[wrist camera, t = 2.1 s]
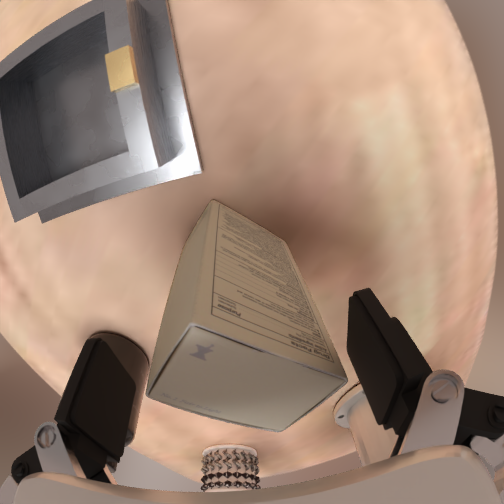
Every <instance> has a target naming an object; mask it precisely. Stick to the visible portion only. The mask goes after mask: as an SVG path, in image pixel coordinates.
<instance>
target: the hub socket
mask: <svg viewBox="0 0 504 504" xmlns="http://www.w3.org/2000/svg"><path fill="white" fill-rule="evenodd" d="M202 172H203V166H202V162H201V158H200V154H199V149H198V145H197V141H196V136H195V132H194V127H193V123H192V119H191V114H190V110H189V105H188V100H187V96H186V91H185V86H184V82H183V77H182V72H181V67H180V62H179V57H178V52H177V47H176V42H175V37H174V32H173V26H172V21H171V16H170V10H169V4H168V0H92V1H90V2H88V3H86V4H84V5H82V6H81V7H79V8H77V9H75V10H73V11H71V12H70V13H68V14H66V15H65V16H63V17H61V18H60V19H58V20H56V21H55V22H53V23H52V24H50V25H49V26H47V27H45V28H44V29H43V30H41V31H40V32H38V33H37V34H35V35H34V36H32V37H31V38H30V39H28V40H27V41H26V42H24V43H23V44H22V45H20V46H19V47H18V48H17V49H15V50H14V51H13V52H12V53H10V54H9V55H8V56H7V57H6V58H5V59H3V60H2V61H1V62H0V176H1V180H2V184H3V187H4V191H5V194H6V198H7V201H8V204H9V207H10V210H11V213H12V216H13V219H14V222H17V221H19V220H21V219H24V218H26V217H28V216H30V215H32V214H34V213H36V212H38V214H39V216H40V219H41V222H42V223H44V222H47V221H49V220H52V219H54V218H57V217H60V216H62V215H65V214H67V213H70V212H73V211H76V210H78V209H81V208H84V207H87V206H90V205H92V204H95V203H98V202H101V201H104V200H107V199H110V198H113V197H117V196H120V195H123V194H126V193H129V192H133V191H136V190H139V189H143V188H146V187H150V186H153V185H157V184H160V183H164V182H168V181H171V180H175V179H179V178H183V177H187V176H191V175H195V174H199V173H202Z"/></svg>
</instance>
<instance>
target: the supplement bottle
mask: <svg viewBox="0 0 504 504" xmlns="http://www.w3.org/2000/svg"><path fill="white" fill-rule="evenodd" d="M90 338H101V339H103V341H106V342H107V344H108V345H109V347H110V348H111V350H112V351H113V353H114V354H115V355H116V357H117V358H118V360H119V361H120V363H121V364H122V365H123V367H124V368H125V369H126V371H127V372H128V373H129V375H130V376H131V377H132V379H133V380H134V382H135V384H136V391H135V396H134V400H133V405H132V410H131V415H130V420H129V425H128V430H127V435H126V441H125V447H126V446H128V445H129V444H130V443H131V442H132V441H133V440H134V437H135V433H136V428H137V423H138V418H139V413H140V408H141V403H142V398H143V393H144V389H145V384H146V380H147V375H148V370H149V364H148V360H147V358H146V356H145V354H144V353H143V352H142V350H141V349H140V348H139V347H138V346H137V345H135V344H134V343H133V342H131V341H130V340H128V339H126V338H124V337H122V336H119V335H116V334H111V333H99V334H96V335H93V336H92V337H90ZM66 386H67V385H66ZM64 391H65V390H64ZM63 393H64V392H63ZM62 396H63V395H62ZM61 399H62V397H61ZM60 401H61V400H60ZM59 404H60V403H59ZM106 465H107V467H108V469H109V471H110V472H111V473H114V472H115V471H116V467H117V462H110V461H108V460H106Z"/></svg>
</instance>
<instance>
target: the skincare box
mask: <svg viewBox="0 0 504 504" xmlns="http://www.w3.org/2000/svg"><path fill="white" fill-rule="evenodd" d="M347 382H348V378H347V376H346V373H345V371H344V368H343V366H342V364H341V362H340V359H339V357H338V355H337V352H336V350H335V348H334V345H333V343H332V341H331V339H330V336H329V334H328V332H327V330H326V327H325V325H324V323H323V321H322V318H321V316H320V314H319V312H318V310H317V307H316V305H315V303H314V301H313V299H312V297H311V294H310V292H309V290H308V288H307V286H306V284H305V282H304V279H303V277H302V275H301V273H300V271H299V269H298V267H297V264H296V262H295V260H294V258H293V256H292V254H291V252H290V250H289V248H288V246H287V243H286V242H285V241H284V240H282V239H281V238H279V237H277V236H276V235H274V234H273V233H271V232H269V231H268V230H266V229H264V228H263V227H261V226H259V225H258V224H256V223H254V222H253V221H251V220H249V219H248V218H246V217H244V216H242V215H241V214H239V213H237V212H235V211H234V210H232V209H230V208H228V207H226V206H225V205H223V204H221V203H219V202H217V201H215V200H211V201H210V203H209V204H208V206H207V207H206V209H205V211H204V212H203V214H202V215H201V217H200V219H199V220H198V222H197V224H196V225H195V227H194V229H193V231H192V232H191V234H190V236H189V238H188V240H187V242H186V244H185V245H184V247H183V250H182V253H181V257H180V260H179V263H178V266H177V269H176V273H175V276H174V279H173V283H172V286H171V289H170V293H169V296H168V300H167V304H166V307H165V311H164V315H163V318H162V322H161V326H160V330H159V334H158V338H157V342H156V347H155V351H154V355H153V359H152V364H151V369H150V374H149V379H148V384H147V389H146V396H147V397H148V398H151V399H153V400H156V401H159V402H161V403H164V404H167V405H170V406H172V407H175V408H178V409H181V410H184V411H188V412H191V413H195V414H198V415H201V416H205V417H208V418H211V419H216V420H220V421H224V422H227V423H232V424H237V425H241V426H246V427H251V428H256V429H261V430H267V431H273V432H281V431H283V430H285V429H287V428H288V427H290V426H291V425H292V424H294V423H295V422H297V421H298V420H300V419H301V418H303V417H304V416H305V415H307V414H308V413H310V412H311V411H312V410H314V409H315V408H316V407H318V406H319V405H320V404H322V403H323V402H324V401H325V400H327V399H328V398H329V397H330V396H332V395H333V394H334V393H335V392H337V391H338V390H339V389H340V388H341V387H343V386H344V385H345V384H346V383H347Z"/></svg>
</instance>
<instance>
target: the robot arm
mask: <svg viewBox="0 0 504 504" xmlns="http://www.w3.org/2000/svg"><path fill="white" fill-rule="evenodd" d="M347 352H348V355H349V358H350V360H351V362H352V365H353V367H354V369H355V371H356V374H357V376H358V378H359V381H360V384H359V385H357V386H356V387H354V388H353V389H352V390H350V391H349V392H348V393H347V394H346V395H345V396H343V397H342V398H341V400H340V401H339V402H338V403H337V405H336V407H335V409H334V413H333V415H334V419H335V422H336V424H338V425H339V426H341V427H344V428H350V429H351V433H352V436H353V439H354V442H355V445H356V448H357V452H358V455H359V458H360V461H361V464H362V467H360V468H357V469H353V470H350V471H347V472H343V473H339V474H335V475H331V476H327V477H323V478H319V479H315V480H311V481H306V482H301V483H295V484H290V485H284V486H277V487H270V488H262V489H253V490H242V491H227V492H175V491H160V490H150V489H141V488H134V487H127V486H121V485H118V484H117V482H116V481H115V479H114V478H113V476H112V474H111V472H110V471H109V469H108V467H107V465H106V460H108V461H110V462H117V463H119V461H120V457H121V456H122V455H123V453H124V447H125V441H126V435H127V430H128V425H129V420H130V415H131V410H132V405H133V400H134V396H135V391H136V384H135V382H134V380H133V379H132V377H131V376H130V375H129V373H128V372H127V371H126V369H125V368H124V367H123V365H122V364H121V363H120V361H119V360H118V358H117V357H116V355H115V354H114V353H113V351H112V350H111V348H110V347H109V345H108V344H107V342H106V341H103V339H101V338H89V339H87V340H86V342H85V344H84V346H83V348H82V351H81V353H80V355H79V357H78V360H77V362H76V364H75V366H74V369H73V371H72V374H71V376H70V378H69V381H68V383H67V386H66V388H65V391H64V393H63V396H62V399H61V401H60V404H59V407H58V410H57V413H56V415H55V418H54V419H55V420H56V421H57V422H58V424H57V425H55V424H54V423H52V422H46V423H43V424H42V425H41V426H39V428H38V429H37V431H36V433H35V438H34V442H35V446H33V447H32V448H31V449H29V450H28V451H26V452H25V453H24V454H22V455H21V456H19V457H18V458H17V459H16V460H15V461H14V463H13V465H12V470H11V473H12V476H11V475H9V477H8V478H7V479H6V481H5V482H4V483H3V485H2V486H1V487H0V504H504V397H503V396H498V395H494V394H489V393H485V392H480V391H476V390H472V389H468V388H464V384H463V381H462V379H461V378H460V376H459V375H457V374H456V373H455V372H453V371H450V370H438V371H435V372H433V371H432V370H431V368H430V367H429V365H428V363H427V362H426V360H425V359H424V357H423V356H422V354H421V352H420V351H419V349H418V348H417V346H416V345H415V343H414V342H413V340H412V339H411V337H410V336H409V334H408V333H407V331H406V330H405V328H404V327H403V325H402V324H401V322H400V321H399V320H398V319H397V318H395V317H392V318H390V316H389V315H388V313H387V312H386V311H385V309H384V308H383V306H382V305H381V303H380V302H379V300H378V299H377V298H376V296H375V295H374V293H373V292H372V291H371V289H370V288H366V289H362V290H359V291H355V292H354V293H353V296H352V297H349V311H348V333H347ZM478 454H480V455H481V456H483V457H484V458H486V462H488V463H489V464H491V465H492V466H493V467H494V470H495V478H494V481H493V479H492V477H491V475H490V473H489V471H488V469H487V468H486V466H485V464H484V463H483V461H482V460H481V458H480V457H479V456H478Z"/></svg>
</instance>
